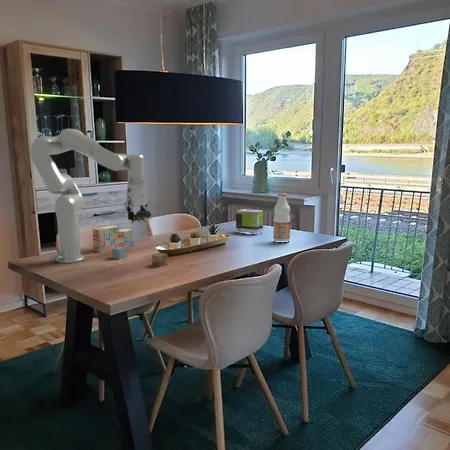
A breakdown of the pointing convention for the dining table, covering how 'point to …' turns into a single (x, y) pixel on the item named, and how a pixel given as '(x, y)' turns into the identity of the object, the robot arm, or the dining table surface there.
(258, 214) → the tea box
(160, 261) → the walnut block
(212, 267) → the dining table surface
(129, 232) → the stack of blocks
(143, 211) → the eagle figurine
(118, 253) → the slate grey block
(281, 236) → the fruit juice
